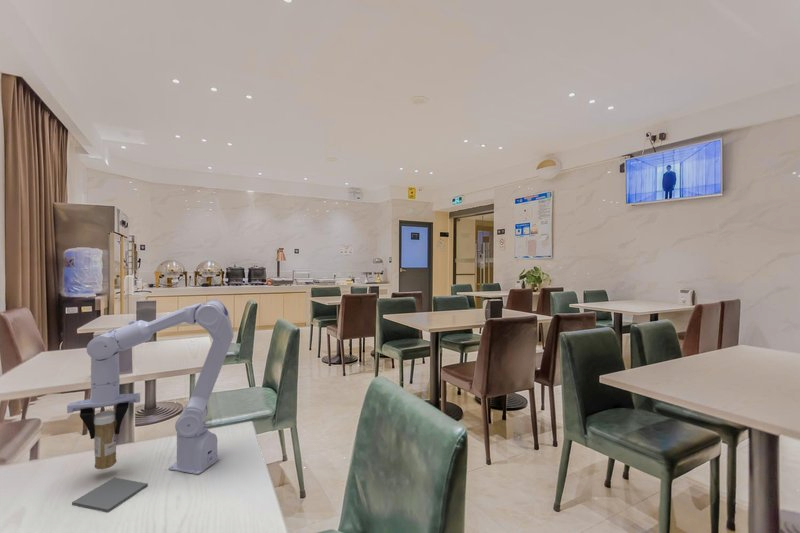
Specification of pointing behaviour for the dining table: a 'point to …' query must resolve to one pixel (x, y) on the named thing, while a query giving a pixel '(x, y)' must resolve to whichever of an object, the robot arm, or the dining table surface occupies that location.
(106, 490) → the coaster
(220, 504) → the dining table surface
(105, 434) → the sprinkles bottle
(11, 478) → the dining table surface
